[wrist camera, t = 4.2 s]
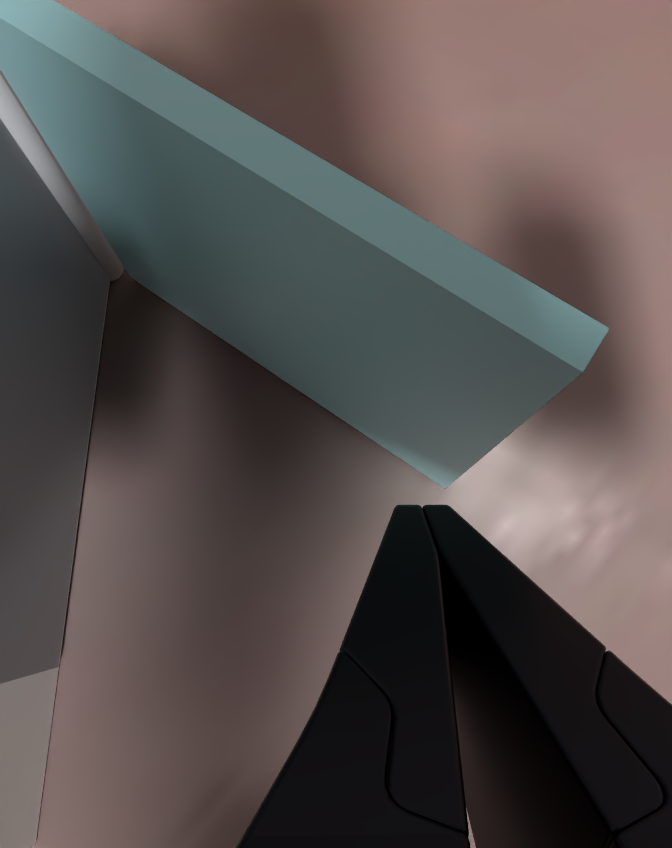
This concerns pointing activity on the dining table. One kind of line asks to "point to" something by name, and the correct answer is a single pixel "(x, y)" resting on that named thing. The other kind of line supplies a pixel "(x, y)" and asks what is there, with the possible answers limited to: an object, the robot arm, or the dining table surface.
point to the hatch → (293, 252)
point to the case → (40, 438)
